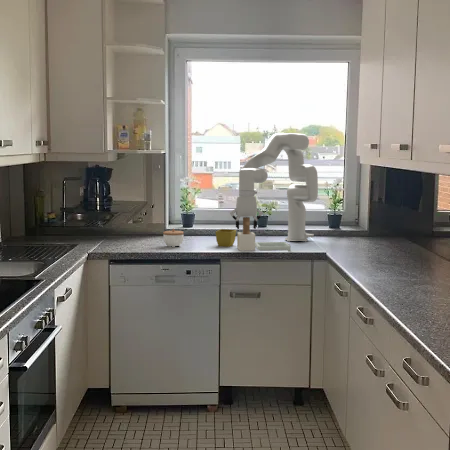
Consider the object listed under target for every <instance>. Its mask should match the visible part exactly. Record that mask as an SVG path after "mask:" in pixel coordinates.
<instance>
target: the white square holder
mask: <svg viewBox="0 0 450 450" xmlns="http://www.w3.org/2000/svg"><path fill="white" fill-rule="evenodd" d="M236 234H237V235H236V239H237V246H236V248H237V250H238V251H241V252H242V251H244V252H245V251H256V247H255V242H256V234H255V232H253V231H250V234H243V231H241V232H240V231H239V232H238V231H236Z"/></svg>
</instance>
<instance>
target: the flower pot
mask: <svg viewBox="0 0 450 450" xmlns="http://www.w3.org/2000/svg"><path fill="white" fill-rule="evenodd" d="M236 234H237V229H223V228H221V229H219V230H216V231H215V238H216V244H217V245H218V247H227V248H230V247H232V246H234V243H235V241H236V238H237V235H236Z"/></svg>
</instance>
